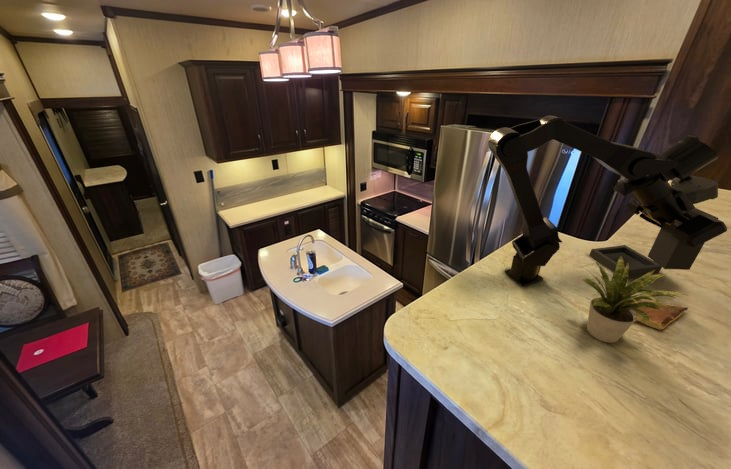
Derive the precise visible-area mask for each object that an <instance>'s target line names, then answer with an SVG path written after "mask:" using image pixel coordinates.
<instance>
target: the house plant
mask: <svg viewBox="0 0 731 469" xmlns="http://www.w3.org/2000/svg"><path fill="white" fill-rule="evenodd" d="M595 263H596V266H597V267H598V268H599V273H600V274H601V275H600V274H599V277H601V279H602V280H603V282H604V283H603V282H601V281H600V279H598V277H597V276H596V275H593V278H594V279H595V280H596V281H597V282H598V283H597V282H596V281H594V280H592V279H590V278H581V280H582V281H583V282H584V283H585V284H587V285H588V286H590V287H591V288H593V290H595V291H597V293H598V294H599V295H600V296H597V297H594V298H592V299H591V300H590V303H589V309H588V317H587V325H586V330H587V332H588V333H589V334H590V335H591V336H592V337H593V338H595V339H597V340H599V341H601V342H605V343H616V342H618V341H619V340H620V339H621V338H622V337H623V335H624V334H625V333H626V332H627V331H628V330H629V329H630V327H631V326H632V325H633V324H634V323H636V322H637V321H636V320H637V316H639V317H640V318H641V319H642V320H644V321H645V320H646V322H647V323H648V324H649V317H648V315H647V314H646V313H645V312H643V311H642V310H640V309H638V308H651V309H660V310H662V309H661V308H660V307H659V306H658V305H664V306H669V305H670V304H667V305H666V303H662V302H660V301H659V300H658V299H657V298H656V297H669V298H674V299H676V297H678V298H681V296H683V297H684V296H686V297H687V296H688V297H690V295H688V294H685V293H682V292H676V291H670V290H656V289H648V288H647V287H649V286H650V285H653V283H654V282H655V281H656V280H658V279H660V278H662V277H664V276H665V275H666V273H657V274H653V272H654V271H655V270H653V271H651V272H649V273H647V274H645V275H641V276H639V277H638V278H636V279H633V280H632V281H631V282H629V283H628V281H629V277H628V270H629V264H628V263H627V265H626V267H625V266H624V261H623V258H622V257H621V256H620V258H619V260H618V262H617V265H616V269H615V272H613V274H611V273H607V271H606V270H605V268H604V267H603V265H602V264H600V263H599V262H598V261H595ZM609 275H610V276H611V280H610V278H609ZM600 286H601V287H602V288H601V287H600ZM646 288H647V289H646ZM637 293H638V294H637ZM639 300H646V301H651V302H638V303H637V301H639ZM634 302H635V303H634ZM670 307H671V306H670ZM635 312H636V313H638V314H636V313H635Z"/></svg>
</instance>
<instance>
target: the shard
mask: <svg viewBox="0 0 731 469" xmlns="http://www.w3.org/2000/svg"><path fill="white" fill-rule="evenodd" d="M638 302H652V300H644V299H642V300H639V301H637V303H638ZM634 303H635V302H634ZM665 304H666V303H665ZM666 305H669V306H664V305H658V306H659V307H660V308H661V309H662V310H660V309H651V308H638V309H640V310H642V311H643V312H645V313H646V314H647V315H648V317H649V324H648V323H647V322H646V320H645V321H644V320H642V319H641V318H640V317H639V316H637V320H636V321H635V322H639V323H642V324H644V325H646V326H648V327H650V328H654V329H657V330H660V331H661V330H665V328H666V327H667V326H668V325H671V323H672V322H674V321H676V320H677V319H679V318H680V317H682V315H683V314H684V312H685V311H687V310H689V307H685V306H679V305H672V304H671V305H670V304H666ZM670 306H671V307H670ZM635 313H636V312H635ZM636 314H638V313H636Z"/></svg>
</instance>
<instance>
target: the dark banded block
mask: <svg viewBox="0 0 731 469" xmlns="http://www.w3.org/2000/svg"><path fill="white" fill-rule="evenodd" d="M685 213H687V214H689V215H691V216H694V215H700V214H707V215H710V216H712V217H714V218H716V219H718V220H719V217H717V216H715V215H713V214H711V213H708V212H706V211H704V210H702V209H699V208H697V207H695V208H694V209H692V210H691V211H685ZM679 225H680V224H678V223H677V222H675V223H674V224H672V225H669V224H667V223H664V224H663V225H662V227H661V228H659V231H658V233H657V236H656V237H655V239H654V242H653V244H652V246H651V249H650V250H649V253H648V254H647V258H649V259H651V260H653V261H654V262H656V263H657V264H659V265H660V266H661V267H662V268H663V269H664V270H685V271H689V270H691V268H692V266H693V264H694V263H695V261H696V259H697V257H698V255H699V254H700V252H701V250H702V249H703V247H704V245H705V243H703V244H702V245H700V246H698V247H689V246H687V245H685V244H684V243H682V242H680V241H678V240H677V239H675V238H674V237H672V236H670V235H671V234H672V233H673V231H674V229H675V228H676V227H678V226H679Z"/></svg>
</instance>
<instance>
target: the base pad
mask: <svg viewBox="0 0 731 469" xmlns="http://www.w3.org/2000/svg"><path fill="white" fill-rule="evenodd" d="M620 256H621V257H622V258H623V261H624V266H625V267H626V265H627V263H628V264H629V270H628V278H632V277H633V278H634V277H642V276H643V275H645V274H647V273H649V272H651V271H653V270H655V271H654V272H653V274H652V275H656V274H660V272H661V271H662V268H663V267H661V266H660V265H659V264H657V263H656V262H654V261H653V260H652V259H650V258H649V257H648V256H646V255H644V254H643V253H641V252H638V251H637V250H635V249H633V248H631V247H629V246H628V245H626V244H622V245H614V246H613V245H612V246H605V247H598V248H591V250H590V252H589V257H590V258H592V259H593V260H595V261H596V262H597V263H598V264H600V265H601V266H604V267H605V268H607V269H608V270H610V271H611V272H612V273H614V272H615V269H616V265H617V262H618V260H619V258H620Z"/></svg>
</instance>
